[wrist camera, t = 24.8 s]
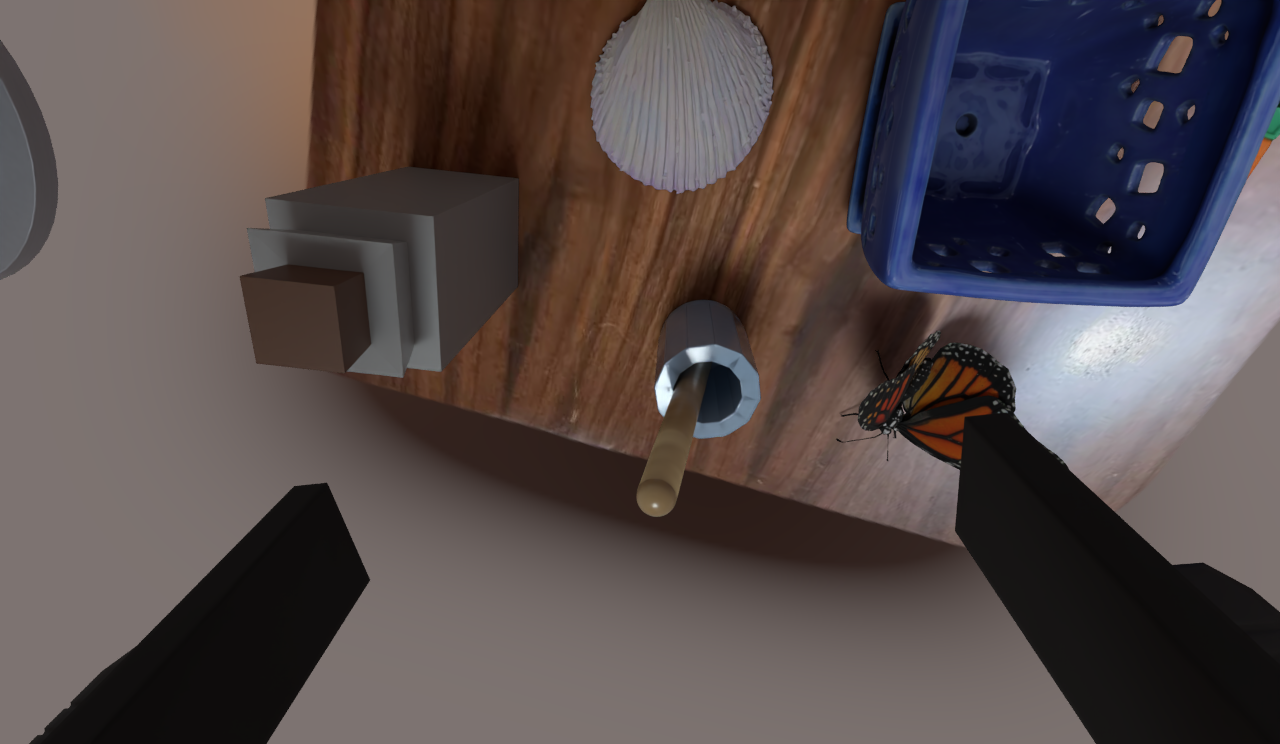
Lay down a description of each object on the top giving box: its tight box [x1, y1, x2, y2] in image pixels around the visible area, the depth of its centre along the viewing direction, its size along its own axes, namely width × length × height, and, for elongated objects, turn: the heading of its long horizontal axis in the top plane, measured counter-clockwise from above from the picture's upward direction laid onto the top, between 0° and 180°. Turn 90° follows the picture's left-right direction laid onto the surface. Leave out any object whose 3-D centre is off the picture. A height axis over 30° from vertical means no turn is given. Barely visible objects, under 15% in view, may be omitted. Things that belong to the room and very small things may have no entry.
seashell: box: [590, 0, 774, 194], centre depth 32 cm, size 10×6×10 cm
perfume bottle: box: [240, 167, 519, 377], centre depth 29 cm, size 7×7×18 cm
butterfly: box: [836, 331, 1069, 470], centre depth 35 cm, size 12×10×10 cm
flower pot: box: [847, 0, 1280, 307], centre depth 28 cm, size 13×13×12 cm
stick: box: [636, 361, 712, 517], centre depth 30 cm, size 2×2×18 cm
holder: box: [654, 300, 761, 439], centre depth 35 cm, size 6×6×8 cm
